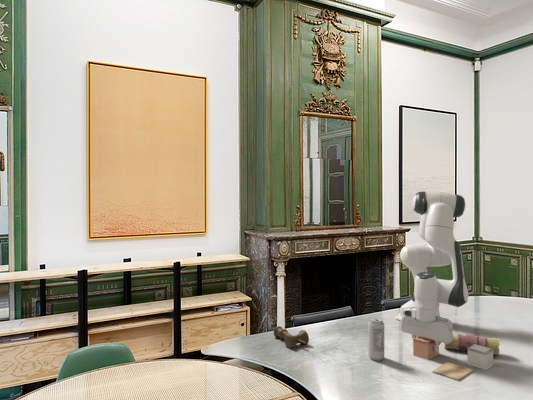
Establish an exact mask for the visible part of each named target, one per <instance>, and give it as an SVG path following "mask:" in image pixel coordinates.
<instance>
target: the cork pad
mask: <svg viewBox="0 0 533 400" xmlns="http://www.w3.org/2000/svg"><path fill="white" fill-rule="evenodd" d="M473 371H474V369H472V368H469V367H465V366H462V365H459V364H456V363H452V362H449V361H447V362H445V363H444V364H442V365H440V366H439V367H437V368H435V369H434V370H432V373H433V374H436V375H438V376H439V375H440V376H442V377H445V378H448V379H451V380H453V381H457V382H460V381H461V380H463V378H465V377H467V376H468V375H470V374H471V373H473Z"/></svg>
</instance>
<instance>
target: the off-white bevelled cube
mask: <svg viewBox="0 0 533 400" xmlns="http://www.w3.org/2000/svg"><path fill="white" fill-rule="evenodd" d="M467 365H469V366H473V367H476V368H479V369H482V370H488V369H490V368H491V367H492V366H493V365H494V354H493V349H492V348H488V347H484V346H481V345H477V344H474V345H472V346H470V347H469V348H468V353H467Z"/></svg>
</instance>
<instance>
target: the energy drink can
mask: <svg viewBox="0 0 533 400" xmlns="http://www.w3.org/2000/svg"><path fill="white" fill-rule="evenodd" d="M383 321H384V320H383V319H382V318H379V317H371V318H369V321H368V322H367V324H368V326H367V327H368V329H367V330H368V331H367V332H368V333H367V335H368V336H367V338H368V345H367V346H368V347H367V348H368V349H367V351H368V354H367V355H368V357H369V359H370V360H372V361H377V362H380V361H383V360H384V358H385V323H384V322H383Z"/></svg>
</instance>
